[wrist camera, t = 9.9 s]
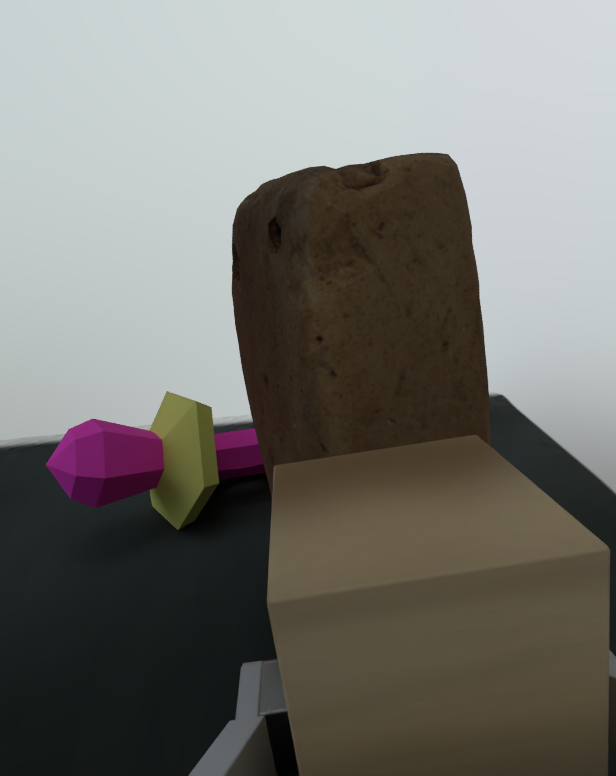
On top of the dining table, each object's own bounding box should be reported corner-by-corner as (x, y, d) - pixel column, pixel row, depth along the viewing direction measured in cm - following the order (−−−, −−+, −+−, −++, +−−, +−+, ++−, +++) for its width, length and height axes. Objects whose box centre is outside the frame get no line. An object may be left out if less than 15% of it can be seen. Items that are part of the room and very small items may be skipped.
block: (521, 656, 20) (500, 129, 15) (364, 743, 17) (277, 139, 13) (382, 538, 30) (342, 195, 25) (268, 582, 27) (198, 208, 22)
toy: (327, 506, 36) (306, 376, 39) (62, 544, 26) (59, 361, 28) (259, 519, 44) (246, 410, 47) (34, 552, 33) (34, 407, 36)
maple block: (607, 1005, 10) (612, 547, 8) (351, 1049, 10) (266, 601, 8) (496, 753, 16) (476, 433, 13) (327, 781, 16) (273, 464, 13)
